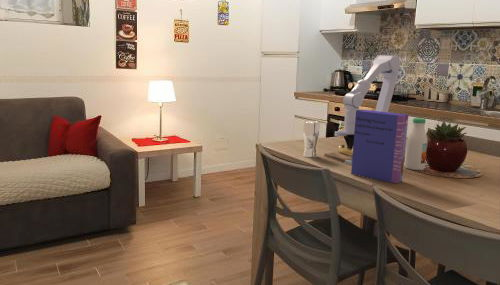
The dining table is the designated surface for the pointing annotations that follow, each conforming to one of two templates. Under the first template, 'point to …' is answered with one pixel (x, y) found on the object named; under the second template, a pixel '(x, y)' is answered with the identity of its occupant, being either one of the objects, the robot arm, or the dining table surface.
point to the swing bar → (345, 150)
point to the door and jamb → (340, 157)
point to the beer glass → (311, 138)
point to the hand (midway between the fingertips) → (349, 152)
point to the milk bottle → (416, 146)
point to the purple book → (379, 145)
